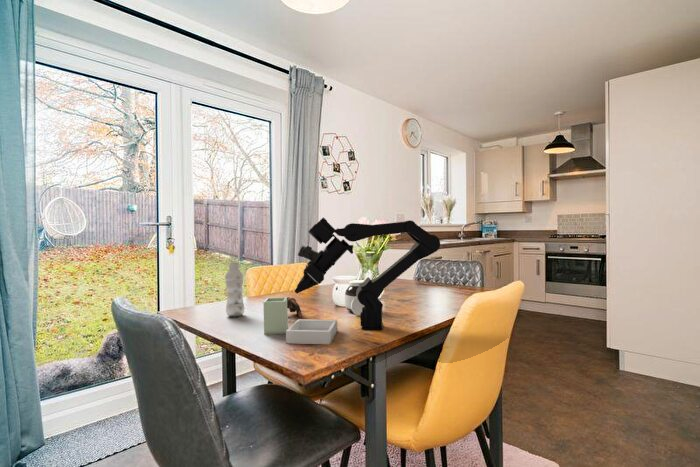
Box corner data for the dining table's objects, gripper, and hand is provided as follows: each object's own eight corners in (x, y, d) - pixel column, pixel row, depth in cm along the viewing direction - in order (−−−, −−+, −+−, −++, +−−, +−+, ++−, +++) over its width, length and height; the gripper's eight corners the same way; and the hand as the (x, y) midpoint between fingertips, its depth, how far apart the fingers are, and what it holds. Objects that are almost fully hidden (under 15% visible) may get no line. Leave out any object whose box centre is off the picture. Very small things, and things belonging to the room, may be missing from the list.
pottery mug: (301, 321, 125) (289, 302, 123) (279, 332, 127) (267, 313, 125) (307, 305, 137) (296, 288, 135) (286, 315, 138) (275, 298, 137)
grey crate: (337, 331, 111) (337, 319, 111) (330, 344, 98) (329, 331, 98) (298, 330, 112) (297, 319, 112) (286, 343, 100) (285, 330, 100)
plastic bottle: (241, 318, 129) (240, 263, 129) (223, 318, 129) (221, 263, 129) (247, 314, 136) (245, 261, 135) (229, 314, 136) (228, 262, 135)
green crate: (287, 327, 115) (287, 297, 115) (285, 333, 109) (284, 301, 109) (267, 328, 115) (266, 297, 115) (264, 334, 108) (263, 302, 108)
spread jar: (361, 307, 143) (361, 278, 143) (381, 312, 134) (381, 281, 134) (338, 312, 135) (337, 282, 135) (357, 318, 126) (357, 285, 126)
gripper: (313, 236, 122) (281, 268, 121) (311, 237, 103) (274, 276, 102) (336, 258, 122) (305, 291, 122) (339, 263, 104) (301, 302, 103)
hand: (296, 289), depth 112 cm, fingers open, 9 cm apart
